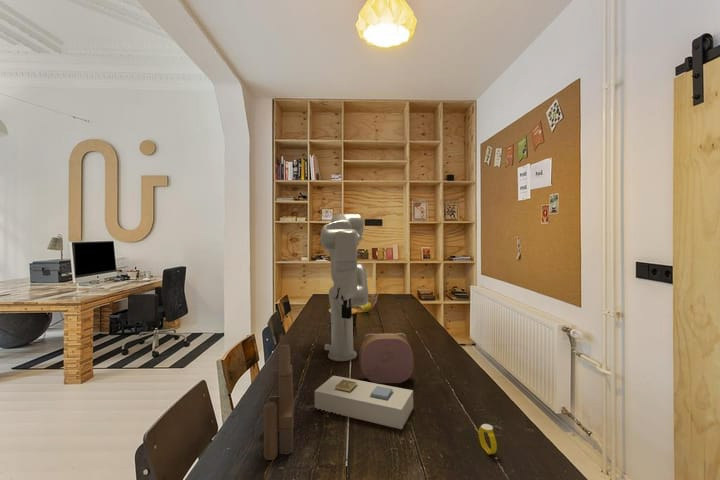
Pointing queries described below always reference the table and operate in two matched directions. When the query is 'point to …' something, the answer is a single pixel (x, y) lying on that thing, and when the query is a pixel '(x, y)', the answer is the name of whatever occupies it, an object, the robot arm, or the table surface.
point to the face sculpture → (386, 358)
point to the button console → (365, 402)
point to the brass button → (346, 386)
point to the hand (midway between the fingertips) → (346, 317)
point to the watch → (489, 430)
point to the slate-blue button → (381, 393)
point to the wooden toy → (280, 411)
